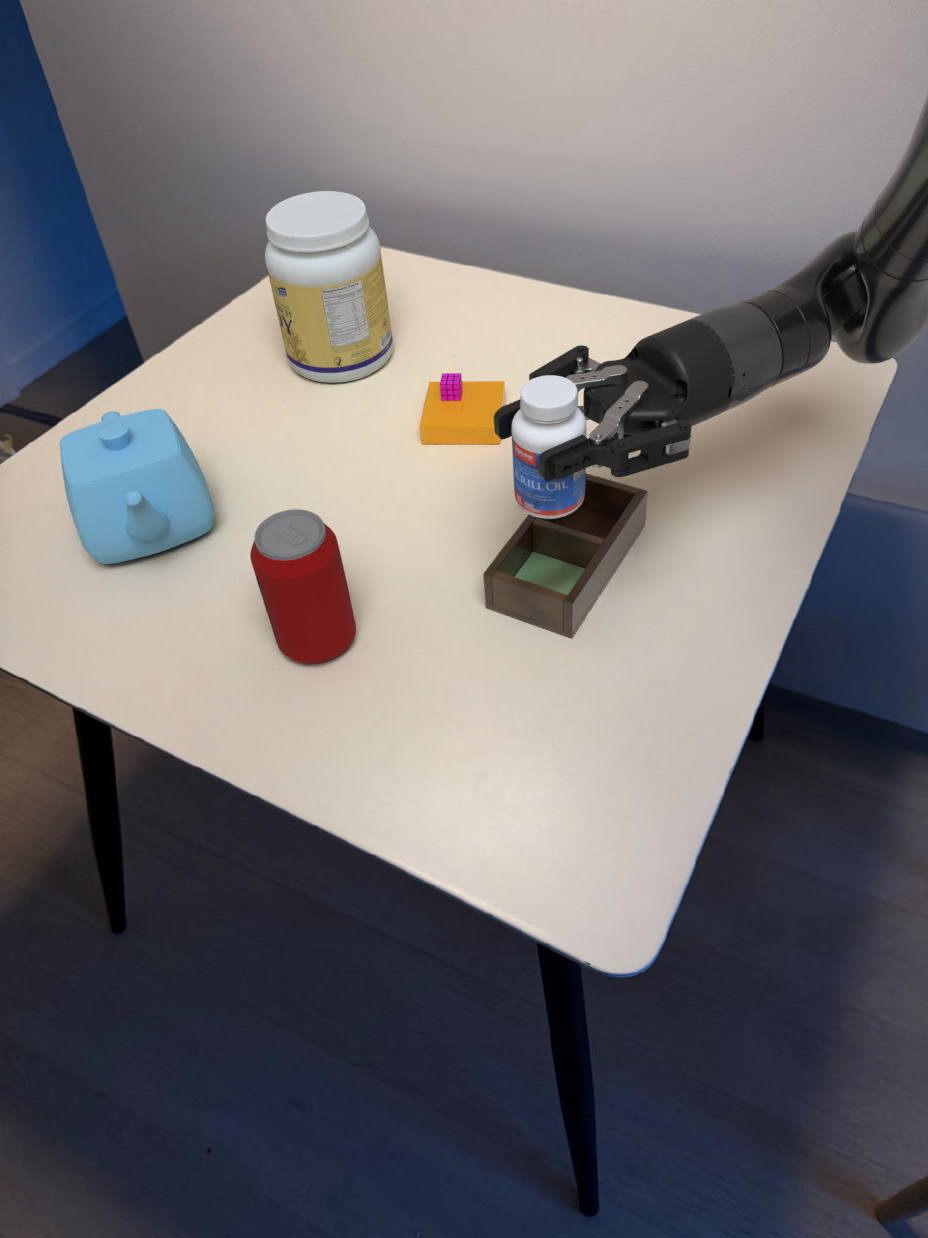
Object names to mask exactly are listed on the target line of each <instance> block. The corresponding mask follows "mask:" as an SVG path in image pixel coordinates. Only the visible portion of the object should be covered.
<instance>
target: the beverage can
mask: <svg viewBox="0 0 928 1238" xmlns="http://www.w3.org/2000/svg"><path fill="white" fill-rule="evenodd" d="M253 538H254V540H253V543H252V545H251V548H250V554H249V557H250V562H251V566H252V569H253V573H254V575H255V580H256V582H257V586H258V589H259V593H260V595H261V598H262V602H263V605H264V608H265V611H266V615H267V618H268V620H269V624H270V627H271V630H272V633H273V636H274V639H275V642H276V645H277V647H278V649H279V651H280V652H281V653H282V654H283V655H284V656H285V657H286V658H288V659H290V660H292V661H295V662H297V663H302V664H303V663H304V664H316V663H322V662H326V661H330V660H331V659H332V660H333V659H334V658H337V656H339V655H341V654H342V653H343V652H344V651H346V650H347V649H348V648H349V647H350V645H352V643H353V641H354V639H355V636H356V632H357V625H356V624H357V623H356V619H355V615H354V614H355V613H354V609H353V603H352V600H351V594H350V590H349V586H348V581H347V577H346V572H345V568H344V563H343V559H342V555H341V551H340V546H339V541H338V539H337V536H336V533H335V532H334V531H333V529H332V528H331V527H330V526H328V525H327V524H326V523H325V522H324V521H323V519H322V518H321V516H319V515H318V514H317V513H315V512H313V511H310V510H306V509H297V508H294V509H293V508H292V509H286V510H282V511H279V512H276V513H274V514H272V515H270V516H268V517H267V518H265V519H263V521H262V522H261V523H260V524H259V525H258V527H256V529H255V532H254V537H253Z"/></svg>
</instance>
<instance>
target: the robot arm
mask: <svg viewBox="0 0 928 1238" xmlns="http://www.w3.org/2000/svg"><path fill="white" fill-rule="evenodd" d="M875 199H876V200H875V201H874V202H873V204H872V206H871V207H870V209H869V210H868V212H867V214H865V216H864V218H863V220H862V221H861V223H860V225H859V227H858V228H857V230H853V231H849V232H846V233H843V234H841V235H840V236H838V237H836V238H835V239H833V240H832V241H830V242H829V243H828V244H827V245H825V247H823V248H822V249H821V250H820V251H819V252H818V253H816V255H814V256H813V258H811V259H810V260H809V261H808V262H807V263H806V264H805V265H804V266H803V267H801V268H800V269H799V270H798V271H796V272H795V273H794V274H793V275H791V276H789V277H788V278H787V279H785V280H783V281H782V282H781V283H779V284H777V285H776V286H774V287H772V288H770V289H768V290H766V291H763V292H761V293H759V294H756V295H754V296H751V297H748V298H746V299H744V300H742V301H739V302H737V303H734V304H730V305H727V306H722V307H718V308H714V309H711V310H709V311H706V312H704V313H701V314H699V315H696V316H694V317H692V318H689V319H687V320H683V321H682V322H679V323H677V324H674V325H672V326H670V327H667V328H665V329H662V330H660V331H657V332H655V333H653V334H650V335H648V336H646V337H644V338H642V339H640V340H638V342H636V344H635V345H634V346H633V348H632V349H631V350H630V352H629V353H628V354H627V355H626V356H625V357H623V358H619V359H615V360H613V359H612V360H605V361H603V362H599V361H597V360H594V359H592V358H590V348H589V346H587V345H583V344H579V345H577V346H574V347H573V348H571V349H569V350H568V351H566V352H564V353H562V354H560V355H558V356H557V357H555V358H554V359H552V360H551V361H548V362H547V363H545V364H544V365H542V366H540V367H539V368H537V369H535V370H533V371H531V372H530V373H529V374H528V379H529V380H531V379H534V378H536V377H540V376H546V375H555V376H561V377H564V378H567V379H569V380H570V381H572V382H573V383H574V384H575V385H576V387H577V393H578V394H579V392H580V391H582V390H583V401H582V402H583V403H582V405H578V406H577V408H579V409H580V410H581V411H582V413H583V414H584V416H585V419H586V421H592V422H594V423H596V424H598V425H597V426H596V427H595V428H593V430H592V431H590V432H589V436H588V438H587V436H586V437H585V436H584V435H583V434H582V435H580V436H578V437H575V438H573V439H571V440H569V441H566V442H564V443H562V444H560V445H557V446H555V447H553V448H550V449H548V450H546V451H544V452H542V453H541V454H540V456H539V475H540V476H541V477H542V478H543V479H544V480H545V481H547V482H549V481H552V480H554V479H555V480H557V479H563V478H565V477H568V476H570V475H572V474H574V473H576V472H579V471H581V470H583V469H585V468H586V469H587V468H589V467H592V468H595V469H600V468H604V467H605V468H607V469H610V475H612V477H614V478H624V477H629V476H633V475H634V474H639V473H641V472H644V471H645V472H646V471H648V470H651V469H656V468H659V467H663V466H665V465H669V464H672V463H675V462H679V461H682V460H685V459H687V458H688V457H689V455H690V447H691V440H692V428H693V427H694V426H696V425H698V424H700V423H703V422H705V421H707V420H710V419H711V418H714V417H717V416H719V415H721V414H724V413H725V412H727V411H729V410H731V409H734V408H736V407H739V406H741V405H743V404H745V403H747V402H749V401H750V400H752V399H753V398H755V397H757V396H759V395H760V394H761V393H762V392H763V393H764V392H765V391H766V390H768V389H770V388H773V387H775V386H777V385H780V384H782V383H783V382H786V381H788V380H790V379H793V378H795V377H796V376H799V375H801V374H804V373H805V372H808V371H809V370H811V369H813V368H814V367H816V366H817V365H818V364H820V363H821V362H822V361H823V360H824V358H826V356H827V355H828V353H829V350H830V348H831V343H832V338H833V339H834V341H835V342H836V344H837V346H838V348H839V349H840V350H841V352H842V353H843V354H844V355H845V356H846V357H847V358H849V359H850V360H851V361H854V362H856V363H859V364H863V365H877V364H880V363H884V362H886V361H889V360H891V359H893V358H895V357H896V356H899V355H900V354H901V353H903V352H905V350H907V349H908V348H909V347H910V346H912V344H913V343H914V342H915V341H916V340H917V339H918V338H919V336H920V334H921V333H922V332H923V331H924V329H925V328H926V326H927V325H928V93H927V95H926V97H925V100H924V103H923V106H922V107H921V111H920V113H919V116H918V119H917V121H916V124H915V127H914V129H913V131H912V134H911V137H910V140H909V142H908V144H907V146H906V148H905V151H904V153H903V155H902V157H901V159H900V161H899V162H898V165H897V166H896V168H895V169H894V172H893V173H892V175H891V177H890V178H889V180H888V181H887V182H886V184H885V186H884V187H883V188H882V190H881V191H880V193H879V194H878V196H877V197H876V198H875ZM529 380H528V381H529ZM520 409H521V408H520V399H517V400H515V401H513V402H509V403H508V404H505V406H502V407H501V408H499V409H498V410H497V412H496V413H495V414H494V431H495V434H496V435H497V436H498V437H500V438H501V440H507V439H509V438H512V421H513V418H514V416H515V414H516V413H517V412H518V411H519V410H520ZM639 451H640V452H639ZM635 452H639V454H637V455H635V456H632V457H629V454H631V453H635Z"/></svg>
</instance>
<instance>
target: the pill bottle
mask: <svg viewBox="0 0 928 1238" xmlns="http://www.w3.org/2000/svg"><path fill="white" fill-rule="evenodd" d="M519 397H520V408H521V409H520V410H519V411H518V412H517V413H516V414H515V416H514V418H513V421H512V436H511V448H512V449H511V450H512V451H511V452H512V471H513V472H512V473H513V493H514V500H515V502H516V504H517V506H518V508H519V509H521V510H522V511H523V512H524V513H526V514H527V515H528V514H529V515H532V516H534V517H538V518H543V519H555V518H560V517H563V516H566V515H568V514H570V513H572V512H574V511H575V510H576V509H577V508H578V507H579V506H580V505H581V504H582V502H583V500H584V496H585V475H586V473H587V472H586V471H587V468H585V469H583V470H581V471H579V472H576V473H574V474H572V475H570V476H568V477H565V478H563V479H557V480H555V479H554V480H552V481H549V482H547V481H545V480H544V479H543V478H542V477H541V476H540V475H539V456H540V454H541V453H542V452H544V451H546V450H548V449H550V448H553V447H555V446H557V445H560V444H562V443H564V442H566V441H569V440H571V439H573V438H575V437H578V436H580V435H582V434H583V435H584V436H585V437H586V438H587V420H586V419H585V416H584V414H583V413H582V411H581V410H580V409H579V408H577V406H579V393H577V387H576V385H575V384H574V383H573V382H572V381H570V380H569V379H567V378H564V377H561V376H555V375H546V376H540V377H536V378H534V379H531V380H528V381H526V382H525V383H524V384H523V386H521V389H520V393H519Z"/></svg>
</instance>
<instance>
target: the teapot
mask: <svg viewBox="0 0 928 1238" xmlns="http://www.w3.org/2000/svg"><path fill="white" fill-rule="evenodd" d="M100 420H101V421H99V422H96V423H93V424H90V425H87V426H84V427H82V428H78V429H76V430H73V431H71V432H69V433H67V434H65V435H63V436H62V437H61V438H60V440H59V453H60V462H61V469H62V470H61V471H62V478H63V485H64V491H65V495H66V500H67V504H68V507H69V511H70V514H71V517H72V518H71V519H72V520H73V523H74V526H75V529H76V531H77V535H79V536H78V537H79V539H80V541H81V544H82V547H83V548H84V550H85V551H86V552H87V554H88V555H89V556H90V557H91V558H92V559H93V560H95V561H96V562H97V563H99V564H102V565H111V564H118V563H123V562H130V561H132V560H136V559H140V558H145V557H147V556H148V557H149V556H151V555H155V554H159V553H162V552H165V551H167V550H170V549H173V548H175V547H178V546H180V545H182V544H186V543H189V542H191V541H193V540H194V539H195V540H196V539H197V538H199V537H202V536H203V535H205V534H206V533H209V531H211V530H212V528H213V525H214V517H215V509H214V508H215V507H214V503H213V500H212V495H211V492H210V489H209V486H208V483H207V480H206V477H205V475H204V473H203V471H202V469H201V466H200V464H199V462H198V460H197V458H196V456H195V454H194V453H193V450H192V449H191V447H190V445H189V443H188V441H187V440H186V438H185V436H184V435H183V433H182V432H181V430H180V428H179V427H178V425H177V424H176V423H175V422H174V420H173V418H171V416H170V415H169V414H168V413H167V411H166V410H165V409H163V408H162V409H161V408H152V409H151V408H150V409H146V410H141V411H135V412H132V413H128V414H124V415H121V414H120V412H118V411H114V410H113V411H108V412H106V413H104V414H103V415H102V416H101V417H100Z"/></svg>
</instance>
